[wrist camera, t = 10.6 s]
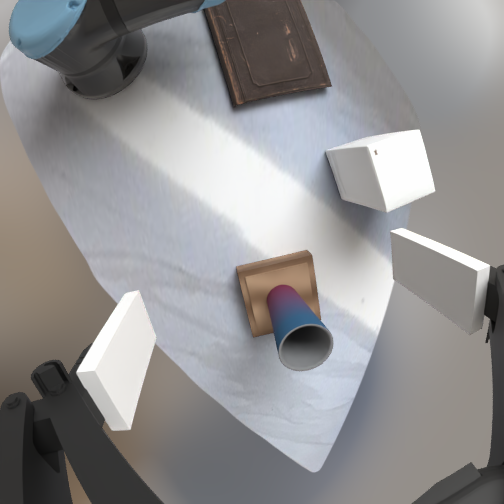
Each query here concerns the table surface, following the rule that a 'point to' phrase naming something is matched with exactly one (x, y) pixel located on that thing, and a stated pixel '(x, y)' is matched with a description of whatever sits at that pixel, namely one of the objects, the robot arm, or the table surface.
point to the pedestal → (271, 275)
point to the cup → (297, 330)
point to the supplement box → (382, 170)
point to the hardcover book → (266, 48)
